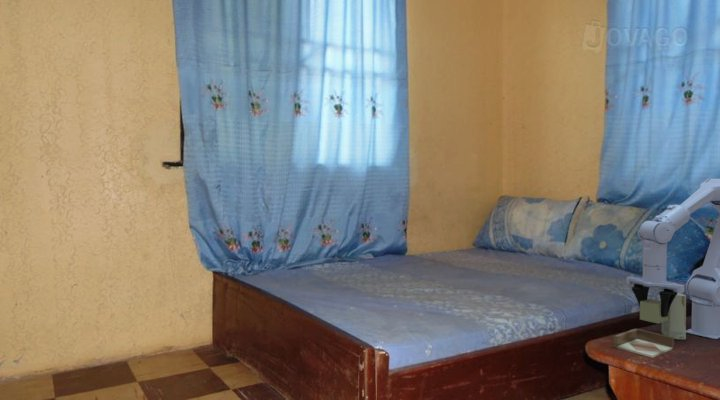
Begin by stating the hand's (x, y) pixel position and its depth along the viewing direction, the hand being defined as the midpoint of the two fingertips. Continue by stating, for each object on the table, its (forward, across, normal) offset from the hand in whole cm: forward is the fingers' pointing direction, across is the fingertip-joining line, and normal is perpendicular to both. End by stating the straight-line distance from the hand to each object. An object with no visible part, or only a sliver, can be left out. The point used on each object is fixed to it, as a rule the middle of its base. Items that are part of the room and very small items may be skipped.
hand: (653, 314), depth 147 cm
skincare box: (+7, +2, +7) cm, 10 cm away
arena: (+7, +2, -9) cm, 12 cm away
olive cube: (+2, 0, 0) cm, 2 cm away
